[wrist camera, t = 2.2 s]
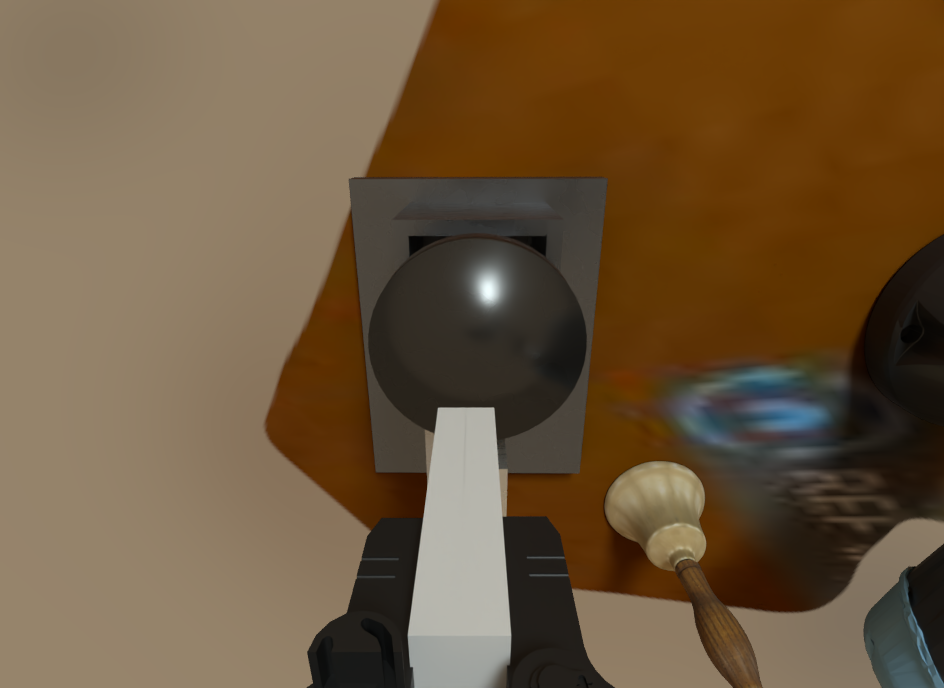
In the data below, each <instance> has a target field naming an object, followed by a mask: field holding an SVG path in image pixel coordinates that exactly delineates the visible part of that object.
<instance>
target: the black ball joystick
mask: <svg viewBox="0 0 944 688" xmlns="http://www.w3.org/2000/svg"><path fill="white" fill-rule="evenodd" d="M368 349H369V356H370V362H371V365H372V368H373V372H374V375H375V377H376V379H377V381H378V383H379V386H380V387H381V389H382V391H383V392H384V394H385V395H386V397H387V398H388V399H389V401H390V402H391V403H392V404H393V405H394V407H395V408H396V409H397V410H399V411H400V412H401V413H402V414H403V415H404V416H405V417H406V418H408V419H409V420H411V421H412V422H413V423H415V424H416V425H418V426H420V427H422V428H423V429H425V443H426V465H427V487H428V480H429V472H430V465H431V457H432V450H433V442H434V435H435V427H436V420H437V412H438V408H494V411H495V425H496V438H497V440H501V439H505V438H509V437H512V436H516V435H518V434H521V433H523V432H526V431H528V430H530V429H532V428H534V427H535V426H537V425H539V424H540V423H542V422H543V421H545V420H546V419H547V418H549V417H550V416H551V415H552V414H553V413H554V412H556V411H557V410H558V409H559V408H560V407H561V405H562V404H563V403H564V402H565V401H566V400H567V398H568V397H569V395H570V394H571V392H572V391H573V389H574V388H575V386H576V384H577V382H578V379H579V377H580V375H581V372H582V369H583V366H584V362H585V356H586V350H587V333H586V325H585V320H584V317H583V313H582V309H581V307H580V305H579V302H578V300H577V298H576V296H575V294H574V293H573V291H572V290H571V288H570V286H569V285H568V283H567V281H566V280H565V278H564V277H563V275H562V274H561V273H560V271H559V270H558V269H557V268H556V267H555V265H554V264H553V263H551V262H550V261H549V260H548V259H547V258H546V257H545V256H544V255H542V254H541V253H539V252H538V251H536V250H535V249H534V248H532V247H530V246H528V245H526V244H524V243H522V242H520V241H517V240H515V239H512V238H509V237H506V236H501V235H496V234H488V233H467V234H459V235H454V236H449V237H446V238H443V239H441V240H438V241H435V242H433V243H431V244H429V245H427V246H425V247H423V248H421V249H420V250H419V251H417V252H416V253H414V254H413V255H411V256H410V257H409V258H408V259H407V260H406V261H405V262H404V263H402V264H401V265H400V267H399V268H398V269H397V270H396V271H395V273H394V274H393V275H392V277H391V278H390V280H389V281H388V283H387V285H386V286H385V288H384V289H383V291H382V293H381V294H380V296H379V298H378V300H377V302H376V305H375V307H374V309H373V313H372V317H371V320H370V325H369V333H368Z"/></svg>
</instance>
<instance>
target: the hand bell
mask: <svg viewBox="0 0 944 688" xmlns="http://www.w3.org/2000/svg"><path fill="white" fill-rule="evenodd" d="M704 502H705V493H704V488H703V485H702V483H701V481H700V480H699V478H698V477H697V476H696V475H695V474H694V473H693V472H692V471H691V470H689V469H688V468H686V467H685V466H683V465H680V464H677V463H673V462H667V461H654V462H647V463H643V464H640V465H637V466H635V467H633V468H631V469H629V470H627V471H626V472H624V473H623V474H622V475H620V476H619V477H618V478H617V479H616V480H615V481H614V483H613V484H612V485H611V487H610V488H609V490H608V492H607V495H606V498H605V504H604V508H605V514H606V518H607V520H608V522H609V523H610V525H611V526H612V527H613V528H614V529H615V530H616V531H617V532H618V533H619V534H621V535H622V536H624V537H626V538H628V539H630V540H632V541H635V542H638V543H639V544H640V545H641V547H642V548H643V550H644V551H645V553H646V555H647V557H648V559H649V560H650V561H651V562H652V563H653V564H654V565H656V566H657V567H659V568H661V569H664V570H670V571H675V572H676V574H677V576H678V577H679V579H680V581H681V583H682V585H683V586H684V588H685V590H686V592H687V594H688V596H689V597H690V600H691V602H692V606H693V609H694V617H695V623H696V627H697V630H698V633H699V636H700V639H701V642H702V644H703V646H704V648H705V651H706V652H707V655H708V656H709V658H710V659H711V661H712V663H713V664H714V666H715V667H716V668H717V670H718V671H719V672H720V673H721V675H722V676H723V677H724V678H725V679H726V680H727V681H728V682H729V683H730V684H731V686H732V687H733V688H762V685H761V681H760V677H759V672H758V667H757V662H756V657H755V654H754V651H753V649H752V646H751V644H750V642H749V640H748V637H747V635H746V634H745V632H744V630H743V629H742V627H741V625H740V624H739V623H738V621H737V620H736V618H735V617H734V616H733V614H732V613H731V612H730V611H729V610H728V609H727V607H726V606H725V605H724V604H722V603H721V602H720V601H719V600H718V598H717V597H716V596H715V595H714V593H713V592H712V590H711V588H710V586H709V584H708V582H707V580H706V578H705V576H704V574H703V572H702V571H701V567H700V565H699V564H698V563H697V562H698V561H699V560H700V559H701V558H702V556H703V554H704V552H705V549H706V539H705V536H704V534H703V531H702V529H701V526H700V523H699V518H700V516H701V514H702V511H703V508H704Z"/></svg>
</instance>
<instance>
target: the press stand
mask: <svg viewBox="0 0 944 688" xmlns="http://www.w3.org/2000/svg"><path fill="white" fill-rule="evenodd" d="M607 180H608V179H607V178H604V177H354V178H351V179H349V187H350V198H351V209H352V220H353V230H354V241H355V252H356V263H357V274H358V284H359V295H360V306H361V317H362V327H363V338H364V349H365V360H366V371H367V381H368V392H369V403H370V414H371V425H372V435H373V446H374V457H375V468H376V472H412V473H427V465H426V443H425V429H423V428H422V427H420V426H418V425H416V424H415V423H413V422H412V421H411V420H409V419H408V418H406V417H405V416H404V415H403V414H402V413H401V412H400V411H399V410H397V409H396V408H395V407H394V405H393V404H392V403H391V402H390V401H389V399H388V398H387V397H386V395H385V394H384V392H383V391H382V389H381V387H380V386H379V383H378V381H377V379H376V377H375V375H374V372H373V368H372V365H371V362H370V356H369V349H368V333H369V325H370V320H371V317H372V313H373V309H374V307H375V305H376V302H377V300H378V298H379V296H380V294H381V293H382V291H383V289H384V288H385V286H386V285H387V283H388V281H389V280H390V278H391V277H392V275H393V274H394V273H395V271H396V270H397V269H398V268H399V267H400V265H401V264H402V263H404V262H405V261H406V260H407V259H408V258H409V257H410V256H411V255H413V254H414V253H416V252H417V251H419V250H420V249H421V248H423V247H425V246H427V245H429V244H431V243H433V242H435V241H438V240H441V239H443V238H446V237H449V236H454V235H459V234H467V233H488V234H496V235H501V236H506V237H509V238H512V239H515V240H517V241H520V242H522V243H524V244H526V245H528V246H530V247H532V248H534V249H535V250H536V251H538V252H539V253H541V254H542V255H544V256H545V257H546V258H547V259H548V260H549V261H550V262H551V263H553V264H554V265H555V267H556V268H557V269H558V270H559V271H560V273H561V274H562V275H563V277H564V278H565V280H566V281H567V283H568V285H569V286H570V288H571V290H572V291H573V293H574V294H575V296H576V298H577V300H578V302H579V305H580V307H581V309H582V313H583V317H584V320H585V325H586V333H587V350H586V356H585V362H584V366H583V369H582V372H581V375H580V377H579V379H578V382H577V384H576V386H575V388H574V389H573V391H572V392H571V394H570V395H569V397H568V398H567V400H566V401H565V402H564V403H563V404H562V405H561V407H560V408H559V409H558V410H557V411H556V412H554V413H553V414H552V415H551V416H550V417H549V418H547V419H546V420H545V421H543V422H542V423H540V424H539V425H537V426H535V427H534V428H532V429H530V430H528V431H526V432H523V433H521V434H518V435H516V436H512V437H509V438H505V439H501V440H497V452H498V465H499V479H500V492H501V506H502V517H506V507H507V473H579V471H580V461H581V451H582V440H583V430H584V419H585V409H586V399H587V388H588V378H589V367H590V357H591V346H592V336H593V326H594V315H595V305H596V294H597V284H598V273H599V263H600V253H601V242H602V232H603V221H604V211H605V201H606V190H607Z"/></svg>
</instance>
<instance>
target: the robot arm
mask: <svg viewBox="0 0 944 688" xmlns="http://www.w3.org/2000/svg"><path fill="white" fill-rule="evenodd" d="M865 360H866V365H867V369H868V372H869V374H870V377H871V379H872V380H873V382H874V384H875V385H876V387H877V388H878V389H879V390H880V391H881V393H882V394H884V395H885V396H886V397H887V398H888V399H890V400H891V401H893V402H894V403H896V404H897V405H899V406H900V407H902V408H904V409H905V410H907V411H908V412H910V413H912V414H913V415H915V416H917V417H919V418H921V419H923V420H925V421H928V422H930V423H933V424H936V425H940V426H944V235H942V236H940V237H939V238H937V239H936V240H934V241H933V242H931V243H930V244H928V245H927V246H926V247H924V248H923V249H922V250H920V251H919V252H918V253H917V254H916V255H914V256H913V257H912V258H911V259H910V260H909V261H908V262H907V263H906V264H905V265H904V266H903V267H902V268H901V269H900V270H899V271H898V272H897V274H896V275H895V276H894V277H893V278H892V280H891V281H890V282H889V284H888V285H887V286H886V288H885V289H884V291H883V293H882V294H881V296H880V298H879V299H878V301H877V303H876V305H875V307H874V309H873V312H872V314H871V317H870V320H869V323H868V327H867V331H866V337H865ZM864 641H865V647H866V651H867V653H868V655H869V658H870V660H871V663H872V666H873V671H874V673H875V675H876V677H877V679H878V681H879V683H880V685H881V687H882V688H944V544H943V545H942V546H941V547H939V548H938V549H937V550H936V551H934V552H933V553H932V554H931V555H930V556H928V557H927V558H926V559H925V560H924V561H922V562H921V563H920V564H919V565H918V566H916V567H915V566H914V567H908V568H906V569H905V570H904V571H903V572H902V573H901V575H900V577H899V582H898V583H897V584H896V585H895V586H893V587H892V589H890V591H888V592H887V593H886V594H885V595H884V596H883V597H882V598H881V599H880V600H879V601H878V602H877V603H876V604H875V605H874V606H873V607H872V608H871V610H870V611H869V613H868V614H867V616H866V619H865V623H864ZM307 653H308V659H309V664H310V669H311V674H312V680H313V684H311V685H310V686H308V687H307V688H615V687H613V686H612V685H610V684H609V683H608V682H606V681H605V680H604V679H603V678H602V677H601V675H600V674H599V673H598V672H597V671H596V670H595V668H594V667H593V665H592V664H591V662H590V660H589V659H588V656H587V653H586V650H585V648H584V644H583V639H582V635H581V630H580V625H579V621H578V616H577V612H576V607H575V602H574V598H573V593H572V588H571V584H570V579H569V577H568V570H567V565H566V560H565V558H564V551H563V547H562V542H561V537H560V534H559V533H558V531H557V530H556V529H555V527H554V526H553V525H552V523H551V522H550V521H549V519H548V518H547V517H502V506H501V492H500V479H499V465H498V452H497V438H496V425H495V411H494V408H438V412H437V420H436V427H435V435H434V442H433V450H432V457H431V465H430V472H429V480H428V487H427V495H426V502H425V510H424V517H423V518H382V519H381V520H380V521H379V522H378V523H377V525H376V526H375V527H374V528H373V530H372V531H371V532H370V533H369V535H368V536H367V539H366V543H365V547H364V551H363V554H362V561H361V562H360V566H359V569H358V573H357V579H356V581H355V585H354V588H353V592H352V596H351V599H350V603H349V607H348V611H347V613H346V614H344V615H343V616H341V617H339V618H337V619H335V620H333V621H331V622H329V623H328V624H327V626H325V627H324V628H323V629H322V630H321V631H320V632H319V633H318V634H317V635H316V636H315V638H314V640H313V642H312V644H311V646H310V648H309V650H308V652H307Z"/></svg>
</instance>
